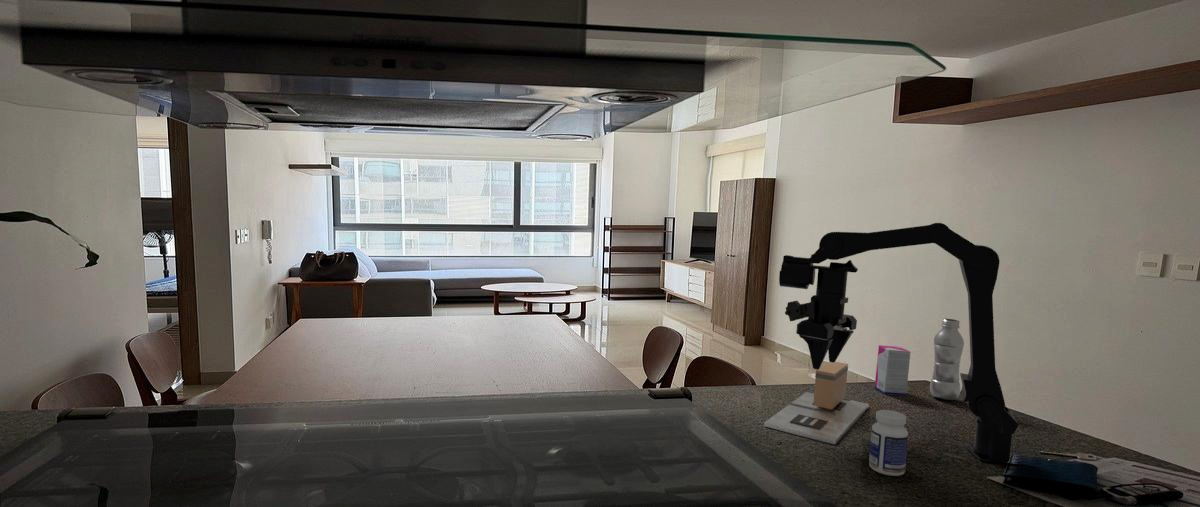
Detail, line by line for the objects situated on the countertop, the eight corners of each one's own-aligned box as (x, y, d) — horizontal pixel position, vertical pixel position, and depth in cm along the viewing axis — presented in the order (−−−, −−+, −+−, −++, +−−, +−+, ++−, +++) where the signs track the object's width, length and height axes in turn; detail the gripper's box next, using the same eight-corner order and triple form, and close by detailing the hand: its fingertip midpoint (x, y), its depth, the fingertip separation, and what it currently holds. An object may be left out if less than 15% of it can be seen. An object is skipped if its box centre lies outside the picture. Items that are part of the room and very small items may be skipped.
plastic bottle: (965, 403, 143) (972, 323, 142) (937, 402, 143) (944, 321, 142) (949, 395, 149) (957, 318, 148) (923, 394, 149) (930, 316, 148)
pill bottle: (909, 470, 102) (914, 414, 101) (899, 480, 98) (904, 422, 97) (874, 459, 106) (879, 406, 105) (863, 468, 102) (868, 413, 101)
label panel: (868, 407, 136) (868, 402, 136) (834, 444, 112) (835, 439, 112) (807, 393, 144) (807, 389, 144) (764, 426, 120) (764, 421, 120)
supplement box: (907, 395, 147) (911, 351, 146) (883, 394, 147) (887, 349, 147) (896, 388, 153) (900, 345, 152) (873, 387, 153) (877, 344, 152)
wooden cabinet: (845, 397, 138) (848, 363, 138) (832, 409, 128) (834, 373, 128) (827, 393, 141) (830, 360, 140) (813, 405, 131) (815, 370, 130)
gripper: (809, 284, 134) (803, 351, 135) (774, 289, 119) (768, 364, 121) (860, 290, 126) (853, 361, 128) (829, 297, 112) (822, 376, 113)
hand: (824, 365), depth 122 cm, fingers open, 9 cm apart
